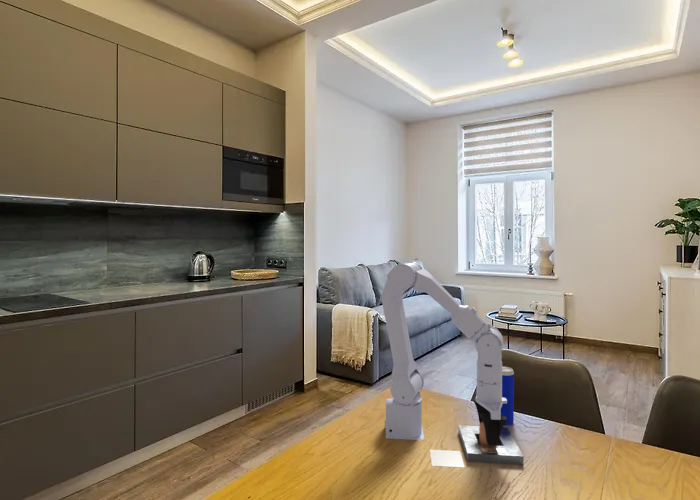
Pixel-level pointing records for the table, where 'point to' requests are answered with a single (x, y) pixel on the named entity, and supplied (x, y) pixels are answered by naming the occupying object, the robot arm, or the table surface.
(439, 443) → the table surface
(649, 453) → the table surface
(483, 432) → the peg
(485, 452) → the hole plate
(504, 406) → the beverage can
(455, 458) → the tile
